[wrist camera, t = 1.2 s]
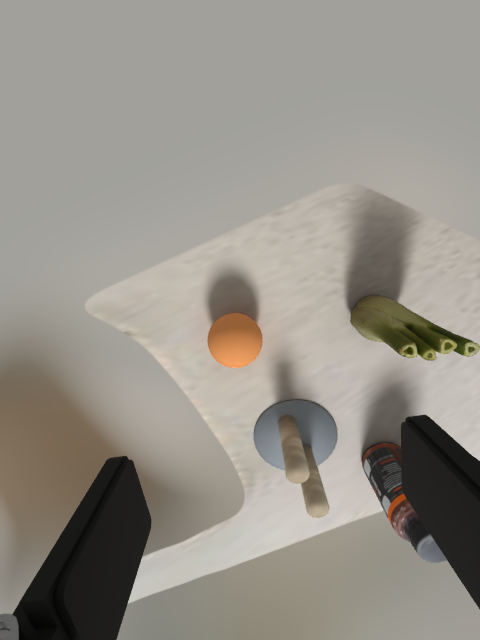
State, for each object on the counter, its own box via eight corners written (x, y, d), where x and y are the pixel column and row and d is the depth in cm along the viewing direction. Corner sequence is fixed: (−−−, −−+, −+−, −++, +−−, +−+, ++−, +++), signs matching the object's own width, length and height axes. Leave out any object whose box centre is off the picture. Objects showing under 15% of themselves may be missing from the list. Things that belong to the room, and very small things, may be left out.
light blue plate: (316, 386, 34) (316, 387, 34) (349, 452, 37) (350, 453, 37) (239, 420, 36) (239, 421, 36) (276, 481, 38) (276, 482, 38)
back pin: (307, 440, 37) (323, 496, 28) (314, 453, 37) (333, 513, 29) (291, 447, 37) (302, 504, 29) (298, 460, 37) (312, 520, 29)
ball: (246, 298, 32) (245, 310, 26) (269, 341, 33) (274, 362, 27) (202, 321, 33) (192, 338, 27) (226, 362, 34) (221, 386, 28)
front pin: (291, 411, 35) (303, 460, 27) (299, 425, 36) (313, 478, 28) (274, 418, 36) (281, 469, 28) (282, 432, 36) (292, 486, 28)
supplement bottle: (351, 465, 37) (392, 555, 26) (377, 433, 36) (433, 515, 25) (387, 483, 38) (442, 579, 27) (414, 452, 36) (485, 541, 25)
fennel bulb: (404, 305, 31) (494, 341, 20) (381, 342, 33) (452, 396, 21) (360, 285, 31) (425, 308, 19) (338, 322, 32) (387, 366, 21)
